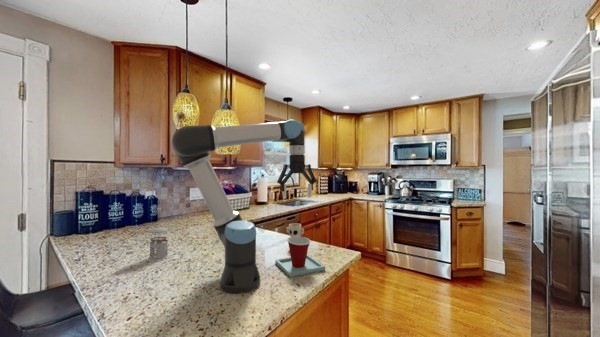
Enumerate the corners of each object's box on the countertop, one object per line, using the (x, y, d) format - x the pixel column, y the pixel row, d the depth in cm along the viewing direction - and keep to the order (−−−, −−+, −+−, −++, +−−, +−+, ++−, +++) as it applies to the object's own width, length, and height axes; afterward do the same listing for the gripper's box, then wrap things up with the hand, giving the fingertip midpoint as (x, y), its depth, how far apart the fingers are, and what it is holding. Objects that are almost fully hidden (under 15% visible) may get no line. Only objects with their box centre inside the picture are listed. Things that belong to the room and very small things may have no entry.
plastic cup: (304, 272, 104) (304, 244, 104) (282, 267, 108) (282, 240, 108) (314, 263, 114) (314, 237, 114) (293, 259, 118) (293, 235, 118)
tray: (290, 277, 100) (290, 273, 100) (275, 263, 115) (275, 259, 115) (325, 270, 107) (325, 266, 107) (307, 257, 122) (307, 254, 122)
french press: (152, 263, 115) (152, 210, 115) (142, 257, 122) (142, 207, 122) (173, 257, 123) (173, 207, 123) (163, 252, 130) (163, 205, 130)
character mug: (283, 247, 138) (283, 225, 138) (289, 244, 144) (289, 222, 144) (301, 250, 133) (301, 226, 133) (306, 246, 140) (306, 224, 140)
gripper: (275, 153, 112) (275, 199, 112) (322, 154, 121) (323, 196, 121) (270, 154, 118) (270, 198, 118) (316, 155, 128) (316, 195, 128)
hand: (297, 197), depth 120 cm, fingers open, 13 cm apart
